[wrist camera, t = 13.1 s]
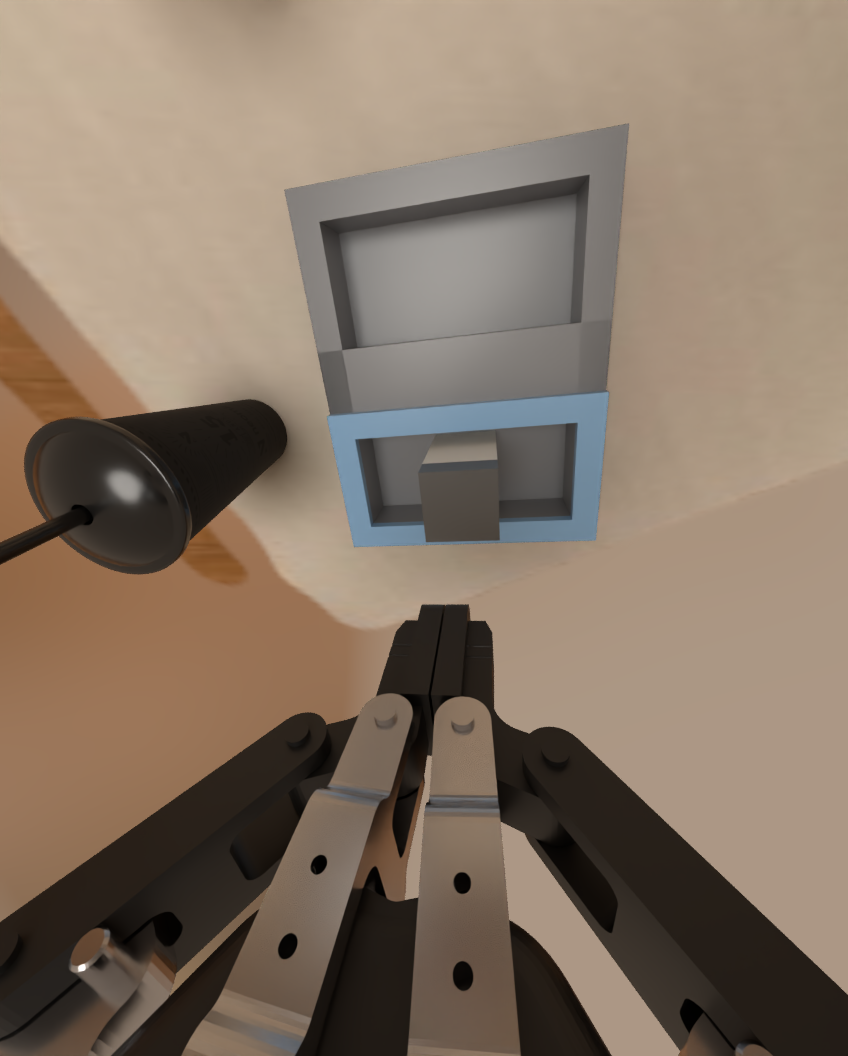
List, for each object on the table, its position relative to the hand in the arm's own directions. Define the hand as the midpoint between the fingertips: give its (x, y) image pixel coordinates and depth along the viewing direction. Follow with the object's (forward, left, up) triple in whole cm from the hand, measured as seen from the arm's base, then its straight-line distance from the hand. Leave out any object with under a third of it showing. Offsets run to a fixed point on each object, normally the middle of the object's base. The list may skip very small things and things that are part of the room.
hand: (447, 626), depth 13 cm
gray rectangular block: (0, 0, -17) cm, 17 cm away
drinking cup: (+16, -3, -18) cm, 24 cm away
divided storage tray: (0, -6, -18) cm, 19 cm away
